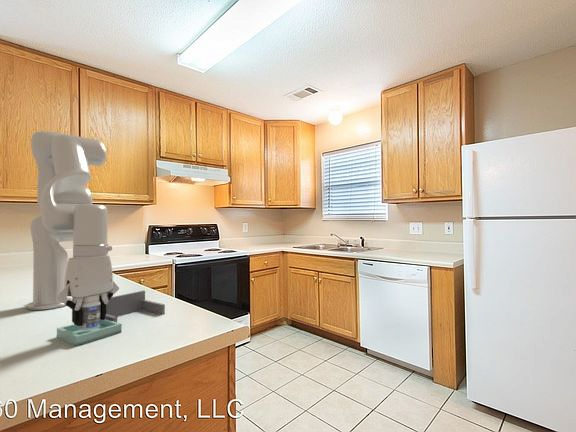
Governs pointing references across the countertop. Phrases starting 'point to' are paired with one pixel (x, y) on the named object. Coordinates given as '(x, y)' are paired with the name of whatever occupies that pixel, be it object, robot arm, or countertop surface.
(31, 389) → the countertop surface
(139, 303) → the bay
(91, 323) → the pill bottle
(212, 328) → the countertop surface
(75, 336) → the tray
